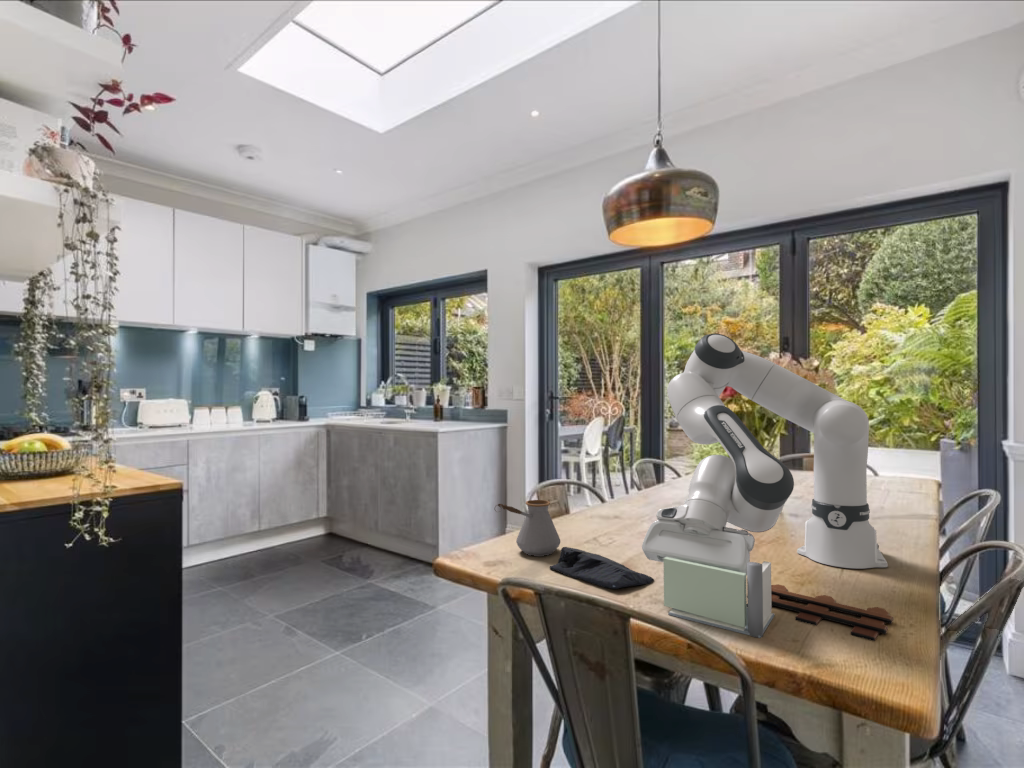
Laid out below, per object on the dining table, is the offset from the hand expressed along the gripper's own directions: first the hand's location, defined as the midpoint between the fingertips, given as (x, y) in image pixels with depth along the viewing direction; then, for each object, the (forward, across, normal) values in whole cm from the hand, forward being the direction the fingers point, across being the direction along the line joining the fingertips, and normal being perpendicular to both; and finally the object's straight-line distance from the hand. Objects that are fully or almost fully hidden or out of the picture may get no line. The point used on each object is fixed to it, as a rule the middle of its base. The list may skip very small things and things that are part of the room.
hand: (685, 586), depth 102 cm
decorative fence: (-7, -20, -15) cm, 26 cm away
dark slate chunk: (-2, +23, -10) cm, 25 cm away
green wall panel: (+4, -4, -2) cm, 6 cm away
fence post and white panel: (+2, -13, -5) cm, 14 cm away
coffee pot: (-3, +44, -10) cm, 45 cm away
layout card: (+2, -6, -5) cm, 8 cm away
